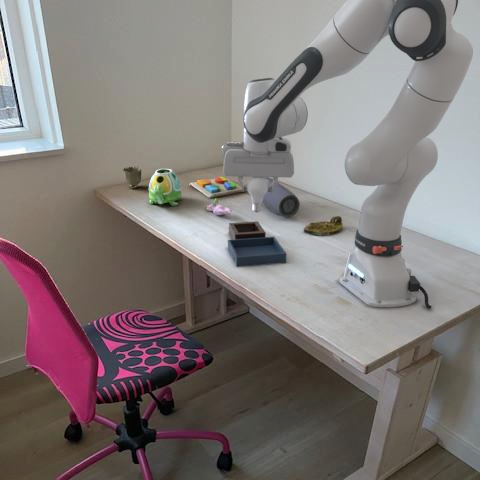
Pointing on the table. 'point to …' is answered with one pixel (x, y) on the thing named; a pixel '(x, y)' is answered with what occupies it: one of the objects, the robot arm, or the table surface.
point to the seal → (325, 227)
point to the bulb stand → (246, 230)
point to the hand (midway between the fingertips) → (257, 191)
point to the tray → (256, 251)
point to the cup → (132, 176)
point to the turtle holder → (164, 187)
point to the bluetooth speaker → (281, 200)
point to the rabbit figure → (218, 208)
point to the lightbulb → (257, 191)
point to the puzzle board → (216, 187)
